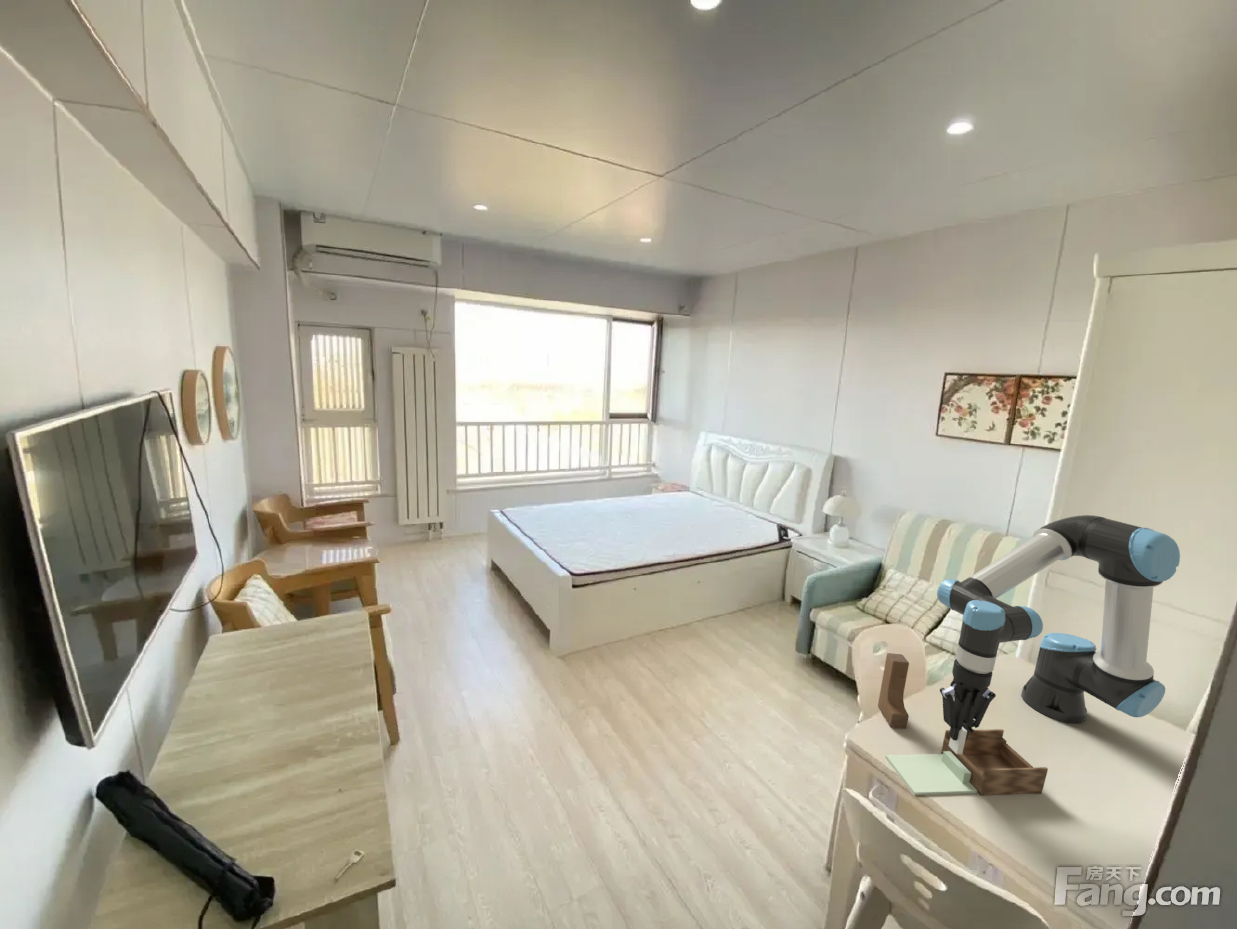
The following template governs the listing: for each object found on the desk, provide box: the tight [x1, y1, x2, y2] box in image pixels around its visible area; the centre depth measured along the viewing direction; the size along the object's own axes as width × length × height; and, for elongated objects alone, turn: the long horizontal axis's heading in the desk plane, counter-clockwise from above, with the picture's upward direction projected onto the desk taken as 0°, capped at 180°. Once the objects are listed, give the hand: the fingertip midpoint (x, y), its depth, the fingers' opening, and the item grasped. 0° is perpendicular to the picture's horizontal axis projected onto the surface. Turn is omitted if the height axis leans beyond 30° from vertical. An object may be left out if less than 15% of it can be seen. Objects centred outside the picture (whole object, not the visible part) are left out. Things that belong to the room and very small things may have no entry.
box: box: [940, 728, 1049, 796], centre depth 124 cm, size 16×13×7 cm
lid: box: [884, 751, 978, 796], centre depth 123 cm, size 16×11×4 cm
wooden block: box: [877, 652, 910, 730], centre depth 141 cm, size 9×4×18 cm, turn 174°
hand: (955, 749), depth 122 cm, fingers closed
